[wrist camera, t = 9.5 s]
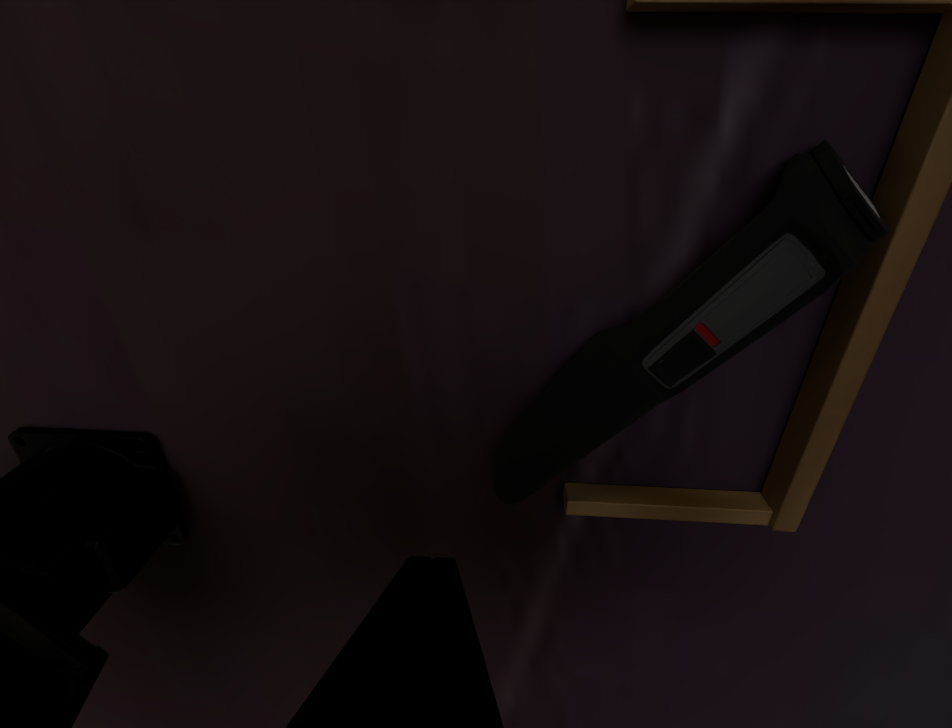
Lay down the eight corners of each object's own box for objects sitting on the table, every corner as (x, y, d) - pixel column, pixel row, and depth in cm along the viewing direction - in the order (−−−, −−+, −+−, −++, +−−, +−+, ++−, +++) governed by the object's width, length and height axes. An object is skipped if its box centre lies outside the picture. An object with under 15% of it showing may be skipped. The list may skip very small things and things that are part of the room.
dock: (562, 495, 21) (566, 520, 20) (629, -25, 13) (643, -41, 12) (778, 506, 21) (796, 532, 20) (994, -24, 12) (1053, -41, 11)
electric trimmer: (469, 427, 20) (463, 477, 17) (811, 127, 14) (884, 131, 11) (532, 475, 21) (535, 530, 18) (875, 215, 15) (956, 238, 12)
